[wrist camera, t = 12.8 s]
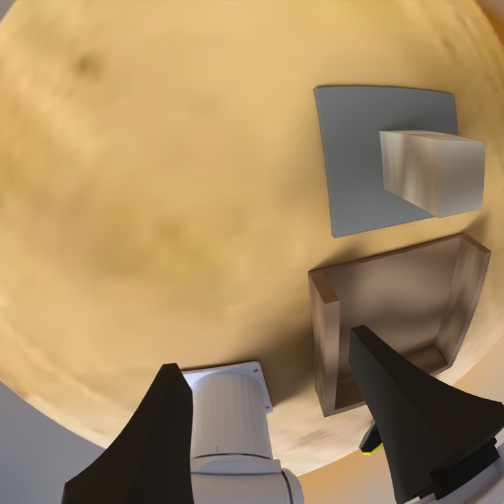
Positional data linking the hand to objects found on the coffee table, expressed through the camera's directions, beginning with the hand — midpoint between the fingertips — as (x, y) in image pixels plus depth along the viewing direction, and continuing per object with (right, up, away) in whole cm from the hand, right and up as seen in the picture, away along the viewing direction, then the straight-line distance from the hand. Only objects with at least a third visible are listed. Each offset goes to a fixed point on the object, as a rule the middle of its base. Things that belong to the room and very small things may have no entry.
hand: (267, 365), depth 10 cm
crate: (+13, -1, +12) cm, 18 cm away
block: (+10, +11, +6) cm, 16 cm away
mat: (+10, +11, +6) cm, 16 cm away
